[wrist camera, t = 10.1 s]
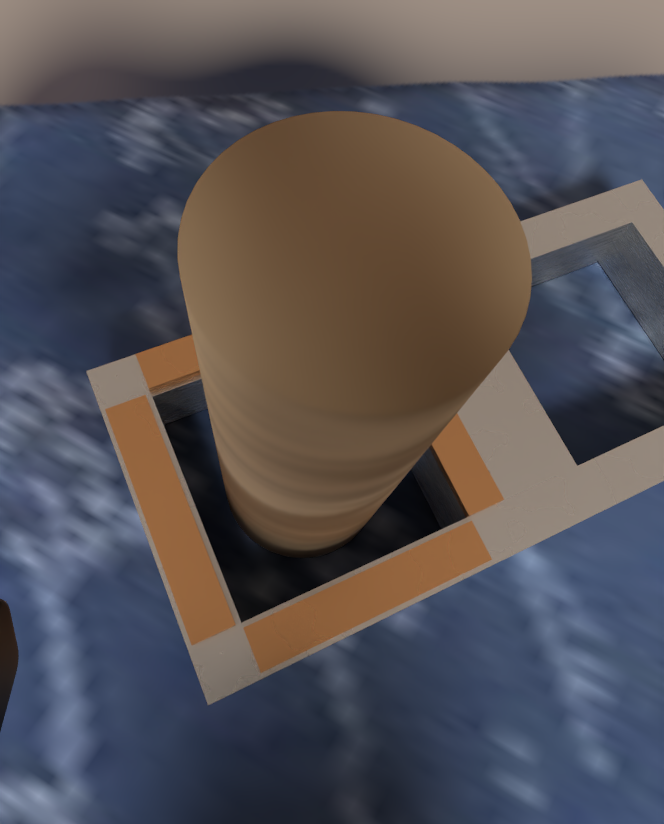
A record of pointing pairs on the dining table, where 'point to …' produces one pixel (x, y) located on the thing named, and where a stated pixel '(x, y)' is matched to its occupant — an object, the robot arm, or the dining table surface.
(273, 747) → the dining table surface
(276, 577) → the dining table surface
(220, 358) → the wooden peg
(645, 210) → the compartment tray
